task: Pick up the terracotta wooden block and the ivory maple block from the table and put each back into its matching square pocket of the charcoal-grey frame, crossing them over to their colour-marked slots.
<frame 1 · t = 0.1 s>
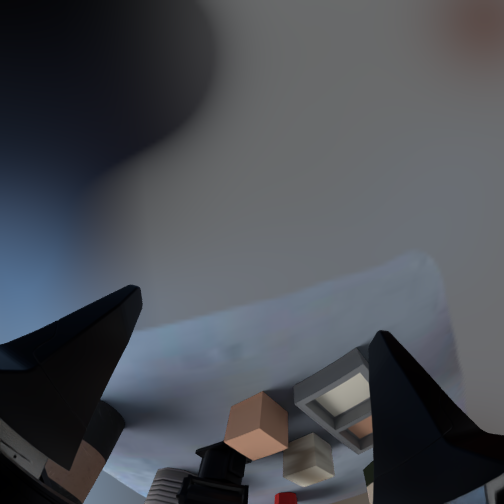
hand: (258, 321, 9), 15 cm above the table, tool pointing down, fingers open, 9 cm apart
travel mug: (107, 413, 34), on the table
can: (184, 480, 38), on the table
ivory block: (307, 445, 31), on the table
wine bottle: (384, 463, 33), on the table
pocket frame: (356, 402, 28), on the table
terracotta block: (259, 409, 30), on the table
french fries: (286, 496, 37), on the table
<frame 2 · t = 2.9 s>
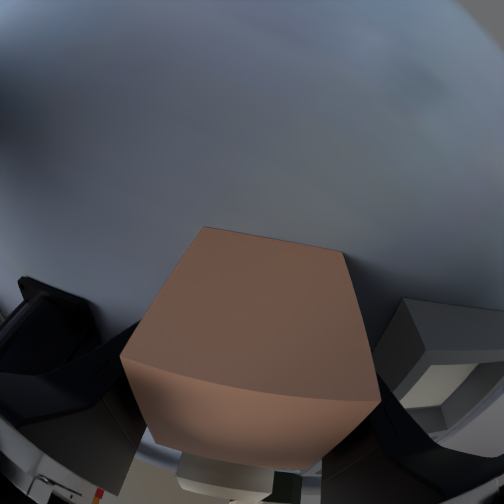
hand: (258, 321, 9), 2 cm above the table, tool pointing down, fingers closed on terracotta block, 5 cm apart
ivory block: (236, 416, 16), on the table
wine bottle: (268, 476, 25), on the table
pocket frame: (396, 400, 14), on the table
terracotta block: (262, 295, 11), on the table, touching gripper
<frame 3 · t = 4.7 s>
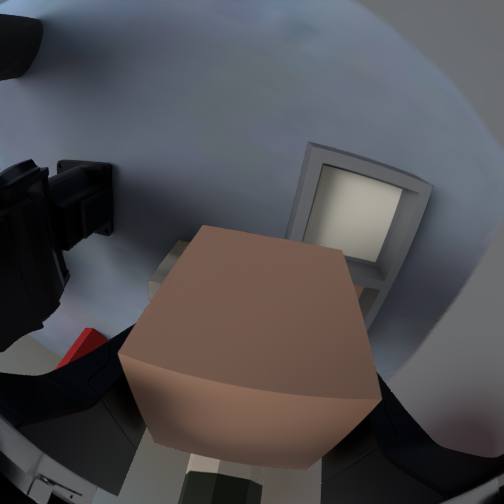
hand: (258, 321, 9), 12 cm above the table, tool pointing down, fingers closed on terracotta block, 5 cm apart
travel mug: (24, 48, 13), on the table
ivory block: (205, 271, 23), on the table
wine bottle: (239, 393, 32), on the table
pocket frame: (334, 256, 21), on the table
terracotta block: (261, 294, 11), point 10 cm above the table, touching gripper
french fries: (94, 341, 31), on the table
when the fingers open (4 cm above the table, at t = 6.9 s): terracotta block drops 2 cm, resting on pocket frame.
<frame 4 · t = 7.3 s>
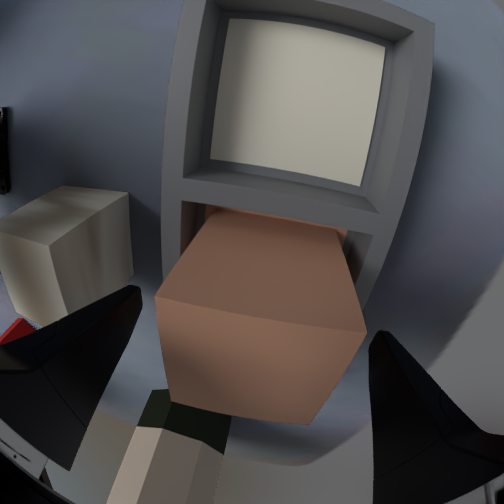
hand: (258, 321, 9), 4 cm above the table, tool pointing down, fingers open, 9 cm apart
ivory block: (96, 229, 14), on the table
wine bottle: (189, 409, 22), on the table
pocket frame: (282, 183, 11), on the table
terracotta block: (266, 269, 12), point 1 cm above the table, touching pocket frame
french fries: (30, 335, 22), on the table
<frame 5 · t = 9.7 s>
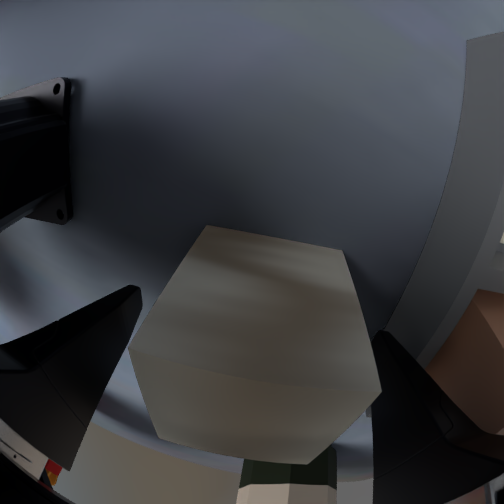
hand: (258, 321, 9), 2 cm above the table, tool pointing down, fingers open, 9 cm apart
ivory block: (263, 292, 11), on the table
wine bottle: (291, 451, 20), on the table
pocket frame: (493, 251, 8), on the table
terracotta block: (467, 330, 9), point 1 cm above the table, touching gripper, pocket frame
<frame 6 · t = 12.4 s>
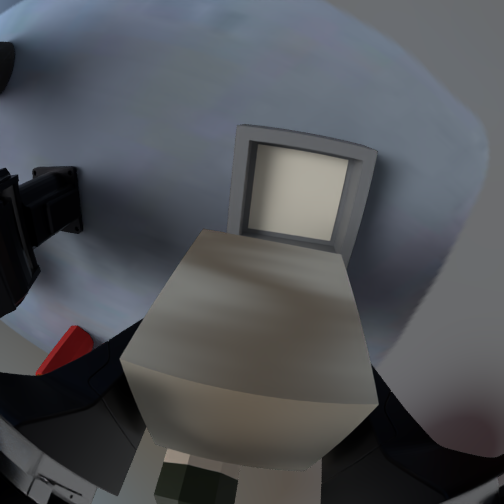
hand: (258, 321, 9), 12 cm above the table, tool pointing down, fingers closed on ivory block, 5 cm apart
travel mug: (1, 69, 14), on the table
ivory block: (261, 297, 11), point 10 cm above the table, touching gripper
wine bottle: (219, 386, 32), on the table
pocket frame: (287, 237, 21), on the table
french fries: (81, 339, 32), on the table
when the fingers open (4 cm above the table, at t = 14.3 s): ivory block drops 2 cm, resting on pocket frame.
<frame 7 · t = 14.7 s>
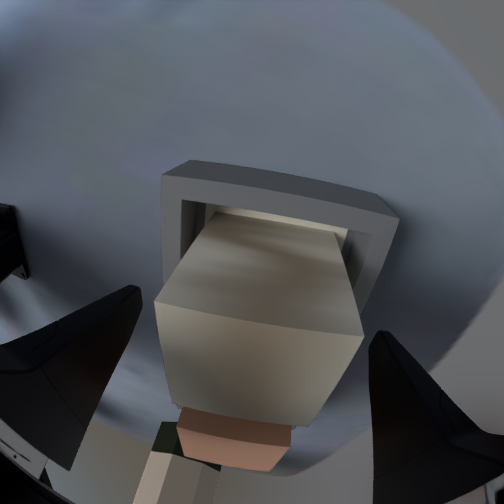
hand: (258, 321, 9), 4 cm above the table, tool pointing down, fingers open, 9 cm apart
ivory block: (265, 271, 12), point 1 cm above the table, touching pocket frame
wine bottle: (192, 435, 26), on the table
pocket frame: (257, 315, 15), on the table
terracotta block: (245, 369, 16), point 1 cm above the table, touching pocket frame
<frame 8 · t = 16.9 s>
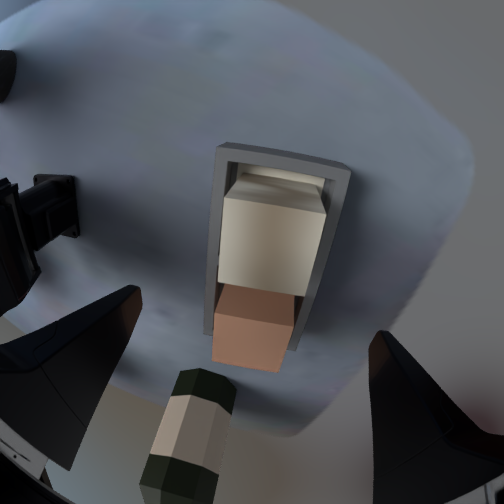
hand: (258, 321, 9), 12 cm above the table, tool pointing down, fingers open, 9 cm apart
travel mug: (3, 76, 16), on the table
ivory block: (273, 211, 19), point 1 cm above the table, touching pocket frame
wine bottle: (206, 385, 33), on the table
pocket frame: (267, 249, 22), on the table
terracotta block: (258, 293, 23), point 1 cm above the table, touching pocket frame
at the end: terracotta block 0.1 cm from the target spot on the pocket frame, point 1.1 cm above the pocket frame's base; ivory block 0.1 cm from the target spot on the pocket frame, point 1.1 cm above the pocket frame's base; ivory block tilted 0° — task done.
